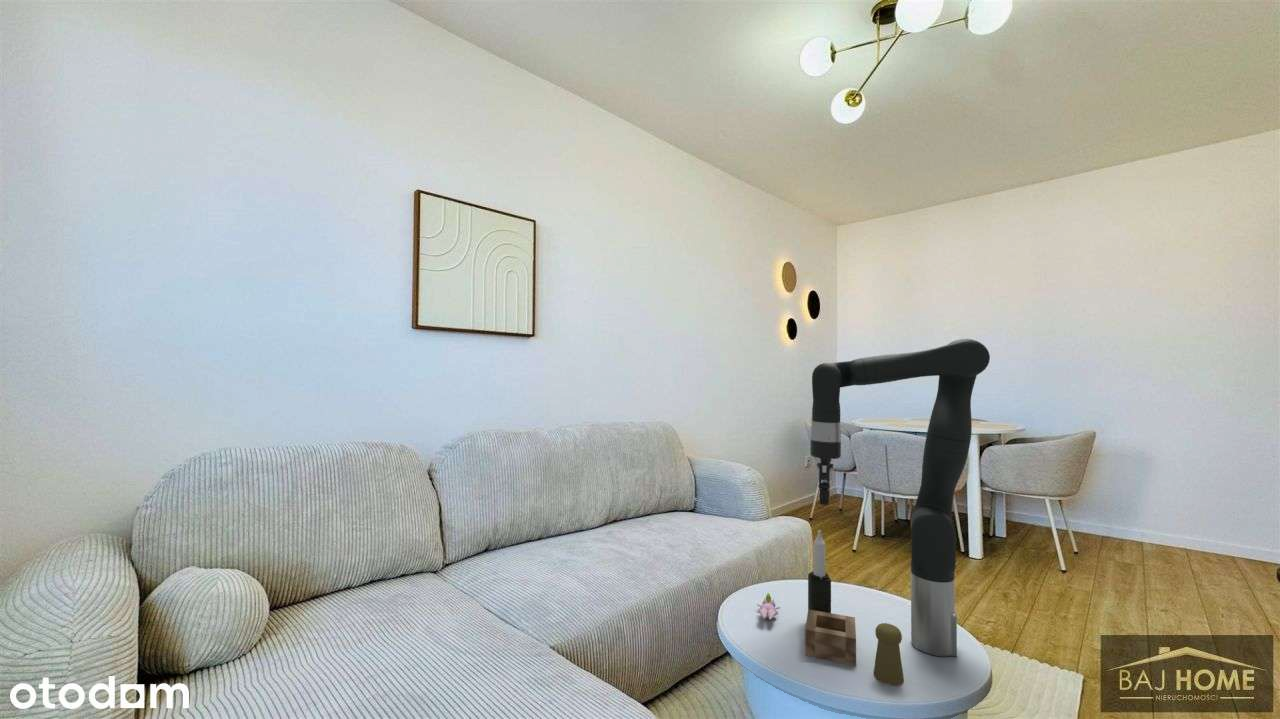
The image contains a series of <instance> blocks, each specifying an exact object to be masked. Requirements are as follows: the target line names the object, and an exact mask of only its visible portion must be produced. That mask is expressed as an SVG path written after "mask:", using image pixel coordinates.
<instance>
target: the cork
mask: <svg viewBox="0 0 1280 719" xmlns="http://www.w3.org/2000/svg"><path fill="white" fill-rule="evenodd" d="M874 630H875V637H876V639H877V646H876V653H875V662H874V668H873V676H874V678H875V679H876V680H877V681H879V682H880V683H883V684H886V685H888V686H894V687H895V686H896V687H897V686H898V687H899V686H902V685H904V682H905V678H904V670H903V664H902V658H901V657H902V656H901V651H900V644H901V642H902V640H903V636H902V632H901V630H900V628H899V627H897V626H896V625H894V624H891V623H886V622H885V623H883V622H881V623H879V624H877V626H876V627H875V629H874Z"/></svg>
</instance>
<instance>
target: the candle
mask: <svg viewBox="0 0 1280 719" xmlns="http://www.w3.org/2000/svg"><path fill="white" fill-rule="evenodd" d="M807 575H808V576H807V595H808V596H807V610H808V609H809V610H815V611H821V612H826V613H832V579H831V578H830V576H829V573H827V572H826V542H825V541H824V539H823V537H822V530H821V529H819V530H817V535H816V538H815V540H814V541H813V571H811V572H810V573H809V572H808V574H807Z"/></svg>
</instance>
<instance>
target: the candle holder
mask: <svg viewBox="0 0 1280 719" xmlns="http://www.w3.org/2000/svg"><path fill="white" fill-rule="evenodd" d="M806 615H807V616H806V621H805V627H804V628H805V629H804V638H805V639H804V641H805V642H804V653H805V654H804V655H805V657H811V658H818V659H820V660H821V659H823V660H827V661H832V662H835V663H836V662H837V663H842V664H846V665H851V666H854V667H855V666H857V632H856V617H855V616H848V615H843V614H842V615H841V614H838V613H837V614H836V613H833V612H831V613H826V612H821V611H815V610H809V609H808V608H807V614H806Z"/></svg>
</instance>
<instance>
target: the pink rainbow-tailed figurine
mask: <svg viewBox="0 0 1280 719" xmlns="http://www.w3.org/2000/svg"><path fill="white" fill-rule="evenodd" d="M756 605H757V606H758V607H759V608H758V609H757V610H758V613H760V615H761V617H762V618H763V619H769V620H772V619H773V618H774V617H776V616H777V615H778V614H779V611H778V610H779V609H781V606H776V603H775V599H774V598H773V599H772V596H771V594H770V593H769V592H767V593H766V596H765V598H763V601H762V603H761V604H760V603H757V604H756Z"/></svg>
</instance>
